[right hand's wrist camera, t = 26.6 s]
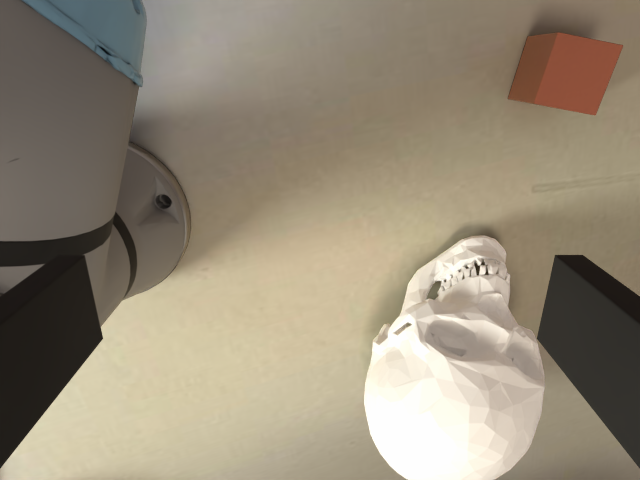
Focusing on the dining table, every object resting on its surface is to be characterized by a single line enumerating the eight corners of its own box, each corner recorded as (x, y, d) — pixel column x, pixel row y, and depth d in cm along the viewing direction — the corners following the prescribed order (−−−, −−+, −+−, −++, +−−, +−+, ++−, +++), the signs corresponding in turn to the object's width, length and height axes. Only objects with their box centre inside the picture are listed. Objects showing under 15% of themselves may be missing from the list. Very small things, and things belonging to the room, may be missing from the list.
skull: (541, 243, 43) (649, 336, 28) (457, 414, 51) (507, 556, 36) (410, 208, 42) (451, 284, 27) (346, 387, 50) (351, 522, 35)
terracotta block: (562, 109, 38) (595, 115, 34) (507, 98, 38) (533, 103, 33) (584, 47, 36) (623, 45, 32) (527, 36, 36) (558, 32, 31)
